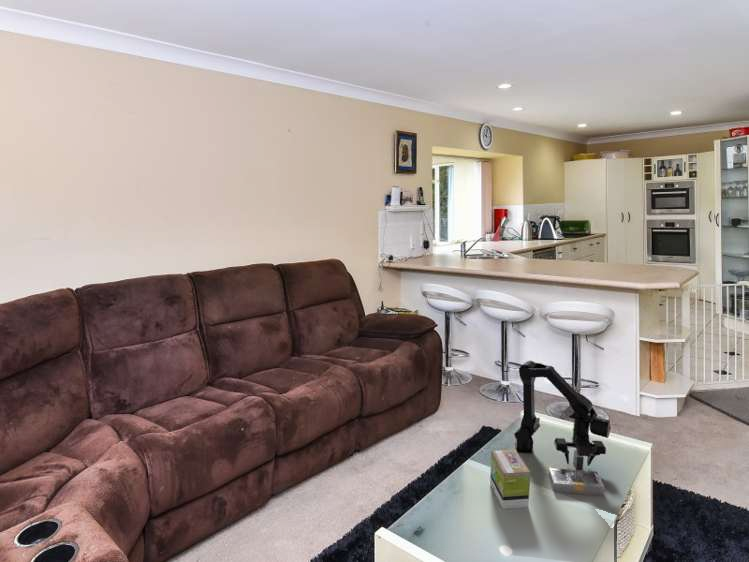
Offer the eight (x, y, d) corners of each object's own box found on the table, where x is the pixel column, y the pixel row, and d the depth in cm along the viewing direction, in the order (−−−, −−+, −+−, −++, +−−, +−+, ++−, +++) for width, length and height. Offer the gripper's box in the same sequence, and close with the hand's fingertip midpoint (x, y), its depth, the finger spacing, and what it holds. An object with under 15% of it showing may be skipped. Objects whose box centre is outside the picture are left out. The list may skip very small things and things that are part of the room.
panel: (576, 470, 203) (577, 457, 201) (573, 463, 207) (574, 450, 206) (582, 470, 202) (583, 457, 201) (579, 463, 207) (580, 450, 206)
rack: (553, 491, 189) (554, 483, 188) (548, 475, 199) (548, 467, 198) (603, 496, 186) (604, 487, 186) (596, 479, 196) (596, 471, 196)
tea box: (488, 484, 194) (490, 449, 191) (514, 482, 195) (516, 448, 192) (501, 509, 179) (504, 472, 176) (529, 508, 180) (531, 471, 177)
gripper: (561, 438, 195) (558, 474, 198) (611, 441, 192) (608, 478, 195) (555, 424, 206) (552, 458, 209) (603, 427, 203) (599, 462, 206)
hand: (577, 464), depth 205 cm, fingers open, 8 cm apart
